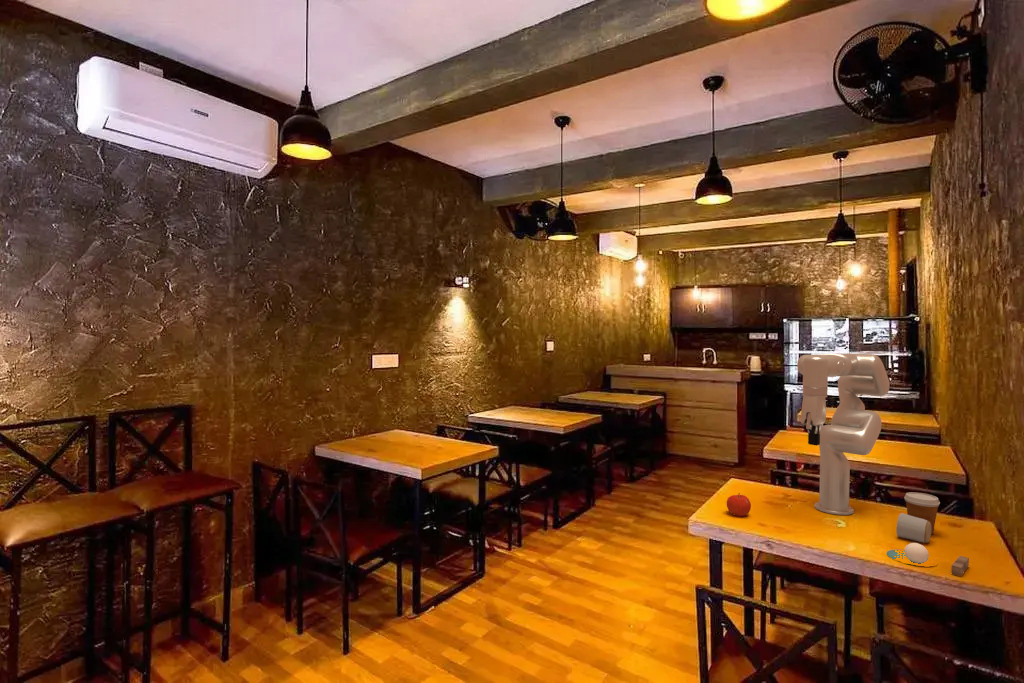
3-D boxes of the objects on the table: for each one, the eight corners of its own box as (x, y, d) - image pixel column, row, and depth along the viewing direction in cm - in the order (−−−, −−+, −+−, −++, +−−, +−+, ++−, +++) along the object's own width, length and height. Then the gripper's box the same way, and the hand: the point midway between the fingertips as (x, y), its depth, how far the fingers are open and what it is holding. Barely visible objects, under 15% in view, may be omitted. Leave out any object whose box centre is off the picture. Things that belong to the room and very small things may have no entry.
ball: (931, 543, 155) (933, 563, 155) (909, 539, 160) (911, 558, 160) (921, 547, 152) (923, 568, 152) (899, 542, 157) (901, 562, 157)
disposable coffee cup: (896, 528, 183) (897, 493, 183) (915, 525, 186) (916, 490, 186) (926, 539, 174) (927, 501, 174) (946, 535, 177) (947, 499, 177)
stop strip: (959, 564, 155) (959, 555, 155) (968, 566, 154) (968, 558, 154) (951, 574, 149) (951, 565, 149) (960, 576, 147) (960, 567, 147)
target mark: (893, 546, 167) (893, 546, 167) (942, 559, 158) (942, 559, 158) (881, 557, 160) (881, 556, 160) (931, 571, 151) (931, 570, 151)
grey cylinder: (927, 546, 168) (928, 522, 168) (895, 539, 174) (896, 515, 174) (933, 538, 175) (934, 514, 175) (903, 531, 181) (903, 508, 181)
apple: (755, 516, 194) (756, 494, 194) (739, 519, 191) (739, 497, 190) (737, 509, 201) (738, 488, 201) (721, 512, 198) (722, 491, 198)
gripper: (812, 389, 196) (811, 440, 196) (794, 392, 186) (793, 445, 186) (834, 391, 190) (833, 443, 190) (818, 394, 180) (816, 449, 181)
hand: (813, 444), depth 188 cm, fingers closed
